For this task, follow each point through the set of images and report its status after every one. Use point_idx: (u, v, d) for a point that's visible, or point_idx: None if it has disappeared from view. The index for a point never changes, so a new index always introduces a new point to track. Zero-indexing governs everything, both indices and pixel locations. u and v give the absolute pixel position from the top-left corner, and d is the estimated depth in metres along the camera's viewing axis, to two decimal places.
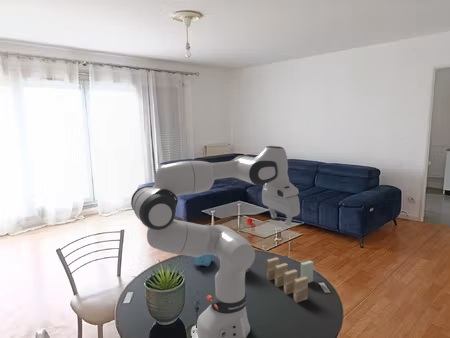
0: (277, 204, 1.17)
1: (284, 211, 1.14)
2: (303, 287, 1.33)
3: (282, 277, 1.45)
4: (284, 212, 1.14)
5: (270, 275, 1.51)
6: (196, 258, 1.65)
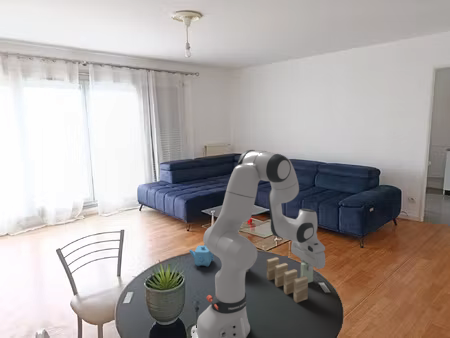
0: (306, 256, 1.44)
1: (312, 263, 1.40)
2: (303, 287, 1.33)
3: (282, 277, 1.45)
4: (311, 264, 1.41)
5: (270, 275, 1.51)
6: (196, 258, 1.65)
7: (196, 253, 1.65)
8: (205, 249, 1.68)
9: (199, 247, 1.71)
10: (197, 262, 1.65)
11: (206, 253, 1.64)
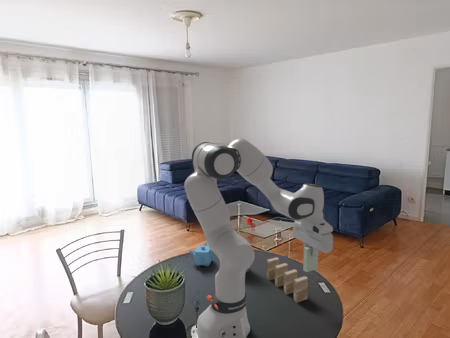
0: (310, 238, 1.24)
1: (317, 246, 1.21)
2: (303, 287, 1.33)
3: (282, 277, 1.45)
4: (317, 247, 1.21)
5: (270, 275, 1.51)
6: (196, 258, 1.65)
7: (196, 253, 1.65)
8: (205, 249, 1.68)
9: (199, 247, 1.71)
10: (197, 262, 1.65)
11: (206, 253, 1.64)
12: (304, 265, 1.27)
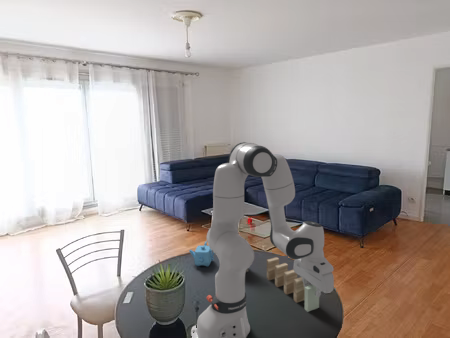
0: (310, 276, 1.23)
1: (318, 285, 1.20)
2: (303, 287, 1.33)
3: (282, 277, 1.45)
4: (317, 286, 1.20)
5: (270, 275, 1.51)
6: (196, 258, 1.65)
7: (196, 253, 1.65)
8: (205, 249, 1.68)
9: (199, 247, 1.71)
10: (197, 262, 1.65)
11: (206, 253, 1.64)
12: (305, 304, 1.27)
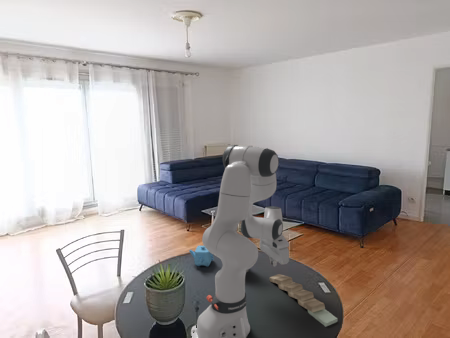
0: (271, 252, 1.48)
1: (276, 259, 1.45)
2: None
3: None
4: (276, 259, 1.45)
5: None
6: (196, 258, 1.65)
7: (196, 253, 1.65)
8: (205, 249, 1.68)
9: (199, 247, 1.71)
10: (197, 262, 1.65)
11: (206, 253, 1.64)
12: (311, 313, 1.23)
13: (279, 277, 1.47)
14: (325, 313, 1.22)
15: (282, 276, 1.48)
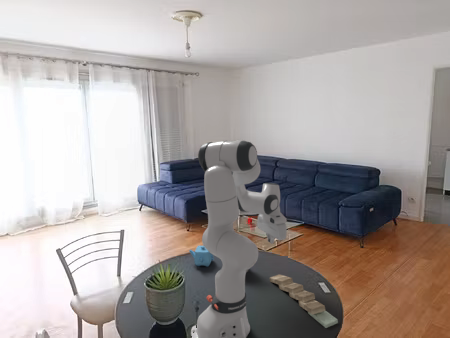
0: (269, 228, 1.48)
1: (274, 235, 1.44)
2: None
3: None
4: (274, 236, 1.45)
5: None
6: (196, 258, 1.65)
7: (196, 253, 1.65)
8: (205, 249, 1.68)
9: (199, 247, 1.71)
10: (197, 262, 1.65)
11: (206, 253, 1.64)
12: (312, 315, 1.23)
13: (279, 278, 1.46)
14: (325, 314, 1.22)
15: (282, 276, 1.47)
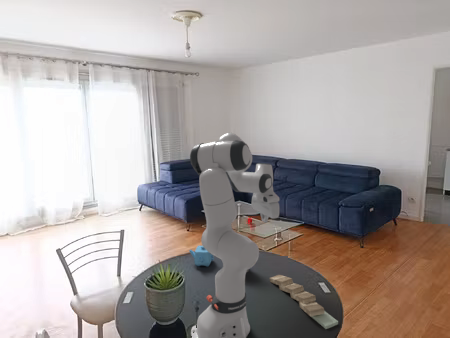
0: (262, 208, 1.51)
1: (267, 214, 1.48)
2: None
3: None
4: (267, 214, 1.48)
5: None
6: (196, 258, 1.65)
7: (196, 253, 1.65)
8: (205, 249, 1.68)
9: (199, 247, 1.71)
10: (197, 262, 1.65)
11: (206, 253, 1.64)
12: (312, 316, 1.22)
13: (279, 278, 1.46)
14: (325, 315, 1.21)
15: (282, 277, 1.47)
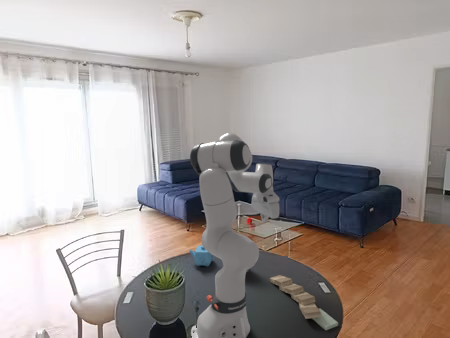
0: (262, 208, 1.51)
1: (267, 214, 1.48)
2: None
3: None
4: (267, 214, 1.48)
5: None
6: (196, 258, 1.65)
7: (196, 253, 1.65)
8: (205, 249, 1.68)
9: (199, 247, 1.71)
10: (197, 262, 1.65)
11: (206, 253, 1.64)
12: None
13: (279, 278, 1.46)
14: (325, 316, 1.20)
15: (282, 277, 1.47)
